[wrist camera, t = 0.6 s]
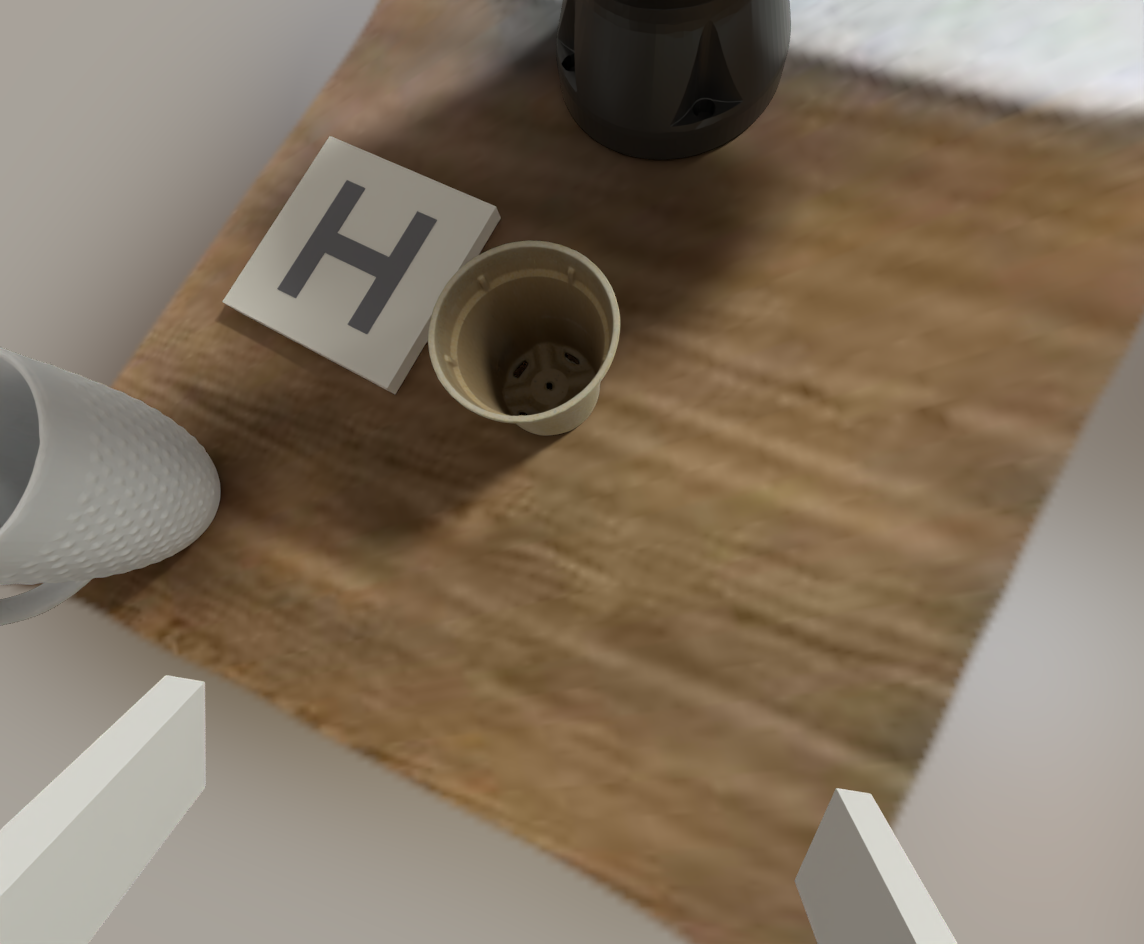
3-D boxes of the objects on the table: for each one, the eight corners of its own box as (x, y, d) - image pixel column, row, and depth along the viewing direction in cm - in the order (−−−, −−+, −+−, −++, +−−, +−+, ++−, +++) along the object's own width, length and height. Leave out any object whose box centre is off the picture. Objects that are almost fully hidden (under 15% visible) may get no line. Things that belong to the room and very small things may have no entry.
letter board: (338, 148, 41) (329, 135, 40) (500, 218, 38) (495, 206, 37) (234, 309, 39) (221, 301, 38) (395, 394, 36) (386, 388, 35)
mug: (137, 668, 35) (-150, 719, 23) (33, 564, 38) (-280, 557, 25) (285, 478, 36) (92, 423, 24) (176, 388, 39) (-54, 295, 26)
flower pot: (496, 309, 37) (452, 229, 28) (638, 328, 35) (636, 249, 27) (463, 446, 35) (406, 405, 27) (610, 472, 34) (598, 437, 25)
